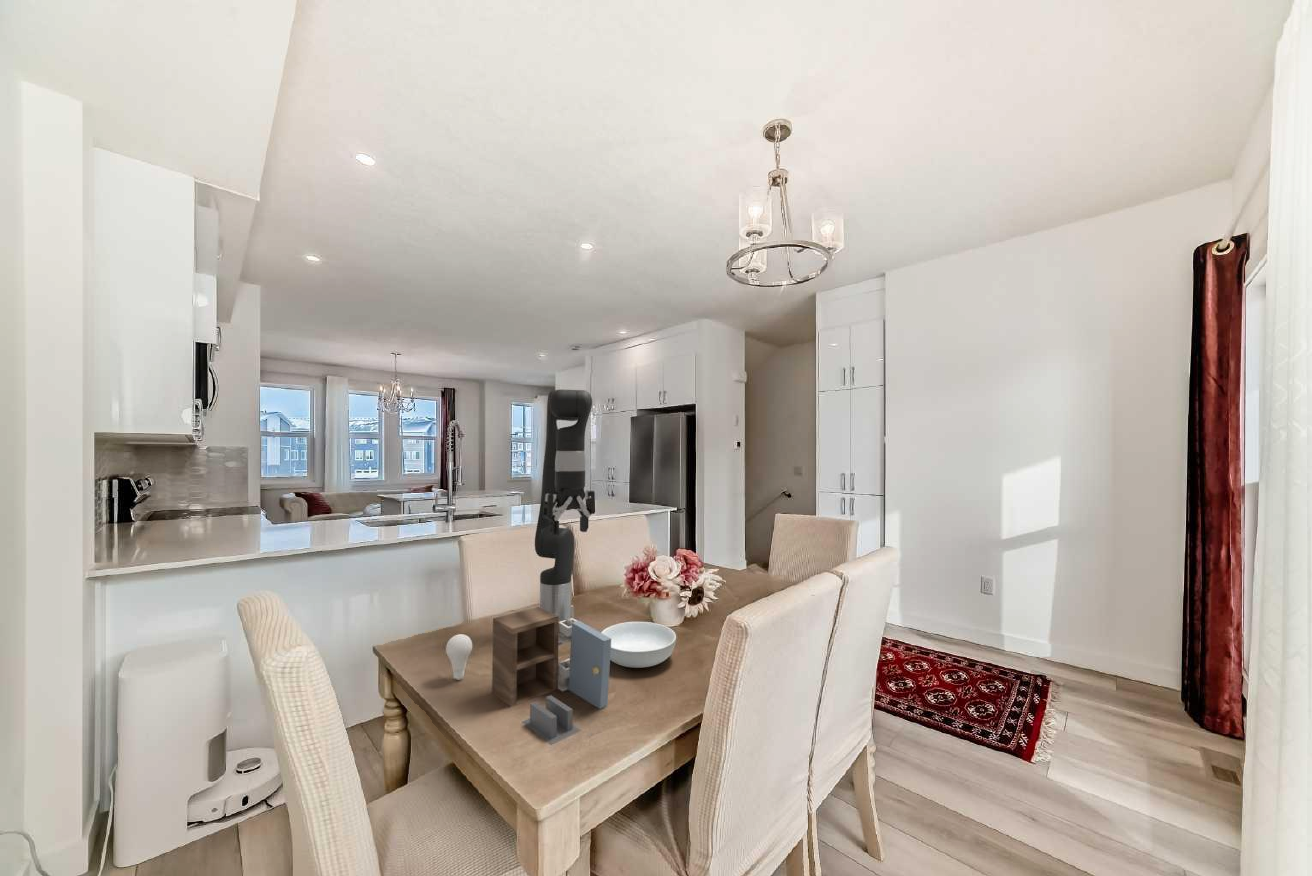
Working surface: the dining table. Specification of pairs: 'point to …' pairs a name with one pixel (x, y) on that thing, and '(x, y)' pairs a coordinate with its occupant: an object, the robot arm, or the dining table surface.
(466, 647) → the lightbulb
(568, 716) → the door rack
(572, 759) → the dining table surface
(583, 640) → the cabinet door
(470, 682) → the dining table surface
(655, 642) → the serving bowl
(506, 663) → the cabinet
